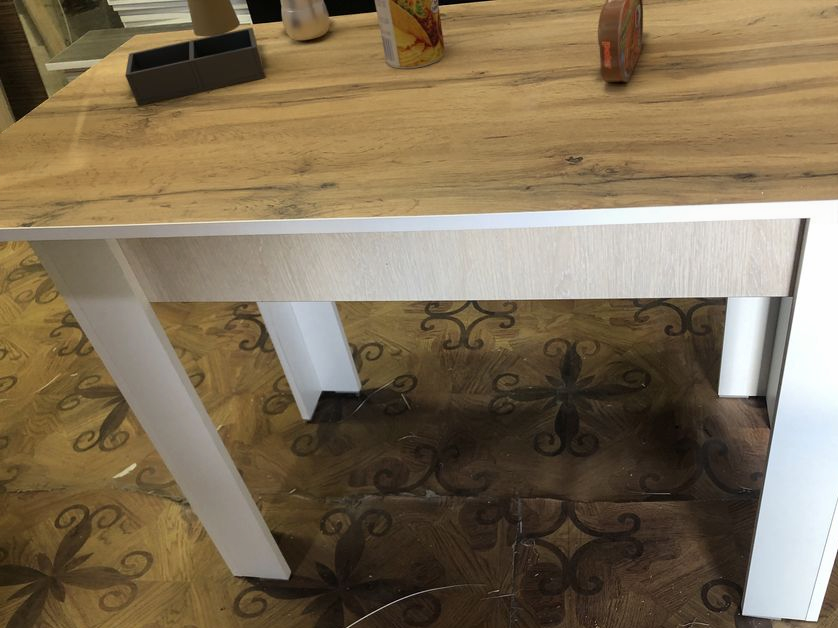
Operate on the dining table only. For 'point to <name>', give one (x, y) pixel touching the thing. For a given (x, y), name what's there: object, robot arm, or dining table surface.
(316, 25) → the plastic bottle
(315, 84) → the dining table surface
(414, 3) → the canned food
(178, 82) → the divided storage box
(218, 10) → the cork
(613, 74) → the tin
